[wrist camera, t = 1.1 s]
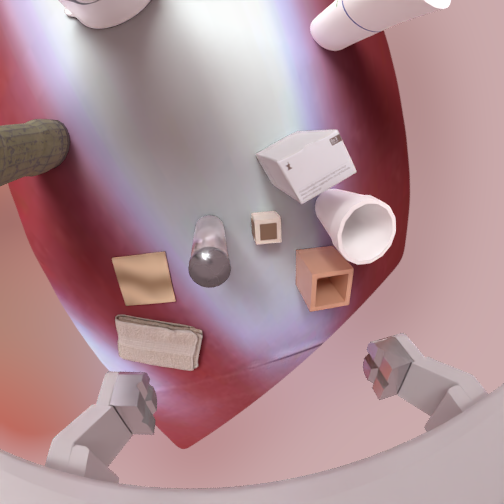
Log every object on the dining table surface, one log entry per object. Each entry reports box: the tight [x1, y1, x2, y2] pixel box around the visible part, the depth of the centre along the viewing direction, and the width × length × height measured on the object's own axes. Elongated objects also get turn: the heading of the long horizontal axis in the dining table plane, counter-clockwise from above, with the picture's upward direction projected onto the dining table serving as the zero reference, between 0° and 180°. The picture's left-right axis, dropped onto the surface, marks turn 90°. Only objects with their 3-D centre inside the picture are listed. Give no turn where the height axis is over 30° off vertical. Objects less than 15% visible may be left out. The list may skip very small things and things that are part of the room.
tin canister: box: [189, 215, 231, 287], centre depth 40 cm, size 5×5×14 cm
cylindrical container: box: [310, 0, 451, 51], centre depth 23 cm, size 7×7×25 cm
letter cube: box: [251, 211, 281, 245], centre depth 45 cm, size 4×4×4 cm
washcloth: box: [115, 315, 203, 371], centre depth 53 cm, size 12×18×3 cm, turn 77°
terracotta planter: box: [296, 246, 354, 312], centre depth 47 cm, size 7×7×9 cm
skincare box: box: [255, 130, 357, 204], centre depth 36 cm, size 8×6×15 cm
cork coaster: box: [112, 251, 176, 306], centre depth 48 cm, size 10×10×1 cm
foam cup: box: [315, 189, 396, 265], centre depth 41 cm, size 10×9×13 cm
